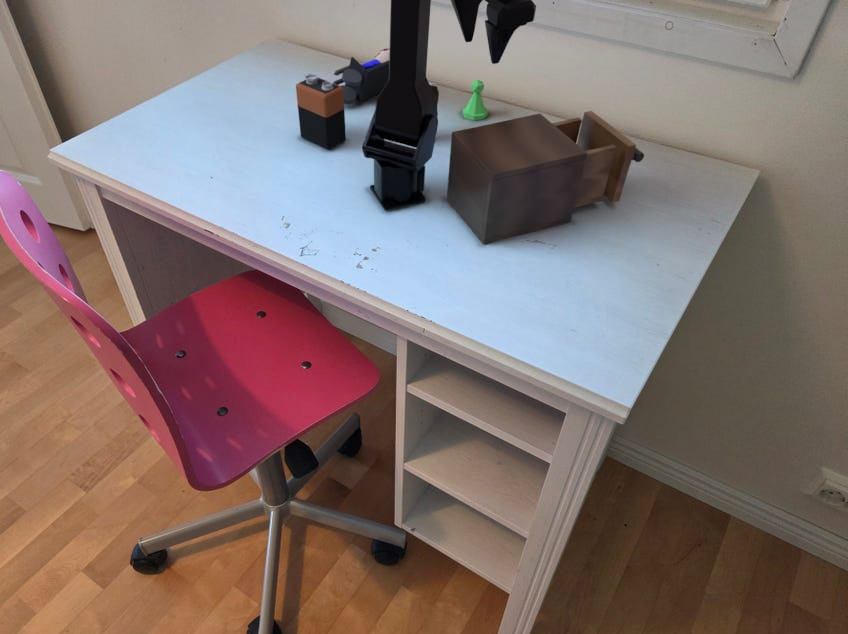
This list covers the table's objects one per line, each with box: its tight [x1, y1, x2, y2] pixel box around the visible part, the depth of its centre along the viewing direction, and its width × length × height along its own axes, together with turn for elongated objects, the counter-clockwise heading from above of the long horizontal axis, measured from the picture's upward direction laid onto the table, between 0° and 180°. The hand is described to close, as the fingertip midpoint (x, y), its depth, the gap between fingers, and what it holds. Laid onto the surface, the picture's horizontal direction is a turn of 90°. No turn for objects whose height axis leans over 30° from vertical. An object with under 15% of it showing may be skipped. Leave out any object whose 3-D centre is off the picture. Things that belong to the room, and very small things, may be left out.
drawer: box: [551, 110, 645, 209], centre depth 92 cm, size 17×10×9 cm, turn 111°
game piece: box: [462, 79, 489, 121], centre depth 111 cm, size 4×4×6 cm
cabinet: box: [446, 113, 587, 245], centre depth 89 cm, size 14×12×11 cm
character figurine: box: [332, 48, 390, 105], centre depth 116 cm, size 8×7×15 cm
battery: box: [295, 73, 347, 150], centre depth 104 cm, size 4×7×10 cm, turn 48°
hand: (481, 52), depth 105 cm, fingers open, 9 cm apart
